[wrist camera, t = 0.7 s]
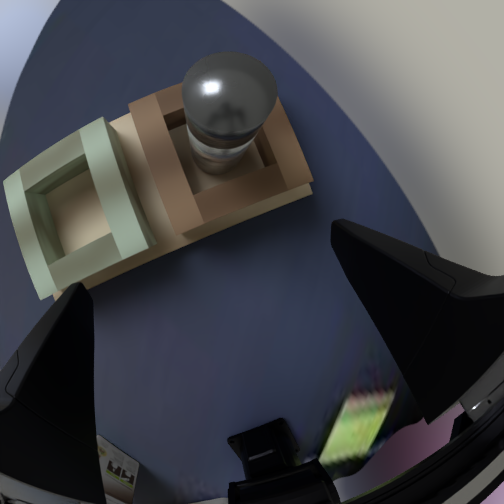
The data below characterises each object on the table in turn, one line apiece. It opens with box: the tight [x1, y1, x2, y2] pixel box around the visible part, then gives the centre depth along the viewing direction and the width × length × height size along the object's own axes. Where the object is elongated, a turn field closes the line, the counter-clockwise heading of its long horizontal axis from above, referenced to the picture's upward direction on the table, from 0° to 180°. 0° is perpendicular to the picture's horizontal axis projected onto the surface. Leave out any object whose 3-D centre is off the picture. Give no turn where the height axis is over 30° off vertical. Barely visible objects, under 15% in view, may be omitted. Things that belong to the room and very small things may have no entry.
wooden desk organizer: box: [3, 61, 314, 301], centre depth 19 cm, size 12×24×4 cm, turn 112°
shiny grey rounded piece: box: [182, 52, 277, 175], centre depth 16 cm, size 4×4×11 cm
